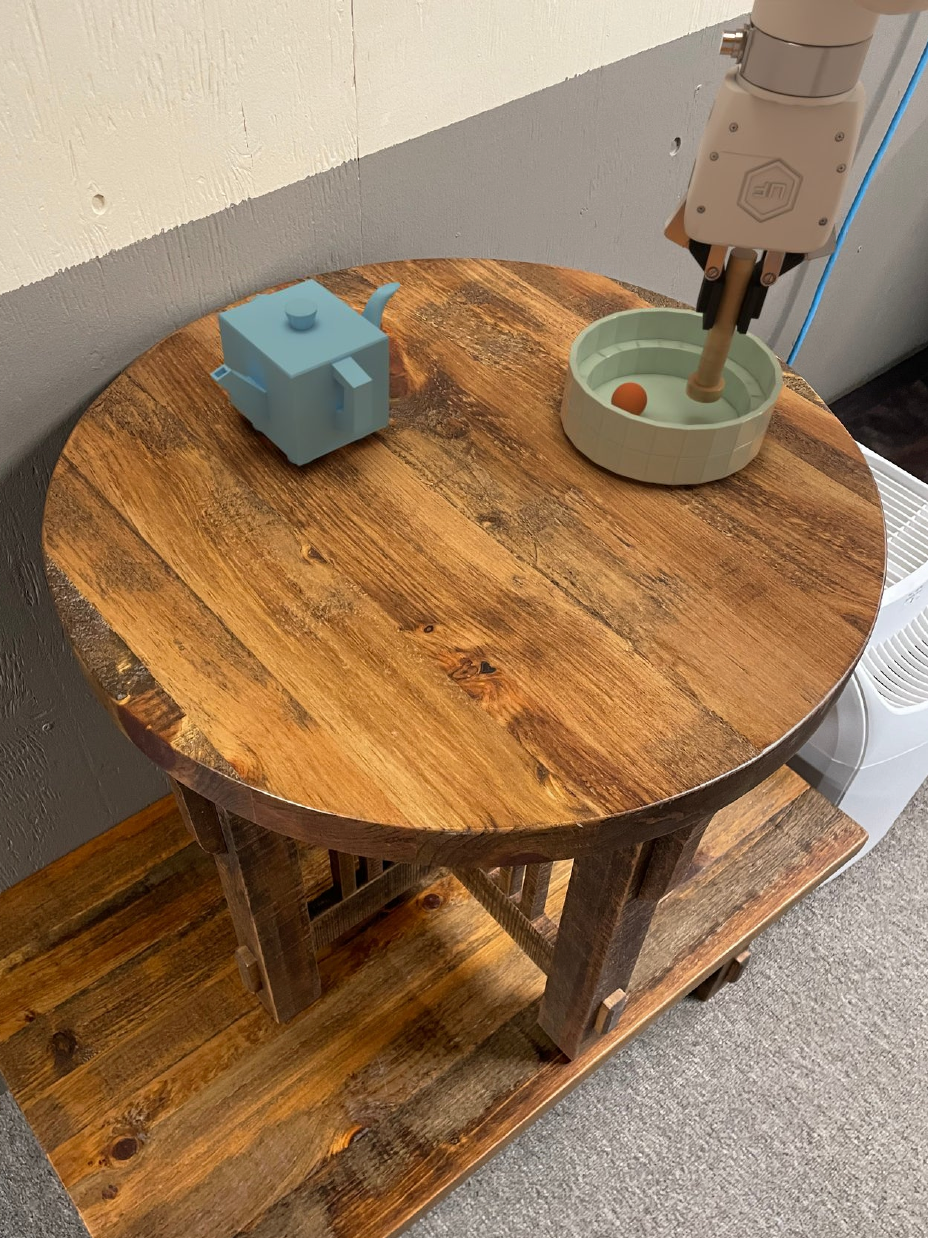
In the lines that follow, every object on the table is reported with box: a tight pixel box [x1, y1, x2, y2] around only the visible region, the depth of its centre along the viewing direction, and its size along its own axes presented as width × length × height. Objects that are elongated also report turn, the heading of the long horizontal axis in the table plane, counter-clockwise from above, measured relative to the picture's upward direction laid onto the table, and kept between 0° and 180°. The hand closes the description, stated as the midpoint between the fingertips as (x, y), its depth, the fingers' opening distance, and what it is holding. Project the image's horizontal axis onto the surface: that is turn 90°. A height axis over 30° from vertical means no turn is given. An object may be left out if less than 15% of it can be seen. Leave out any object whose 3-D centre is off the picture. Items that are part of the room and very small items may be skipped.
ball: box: [611, 382, 647, 416], centre depth 85 cm, size 3×3×3 cm
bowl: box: [559, 306, 784, 486], centre depth 84 cm, size 17×17×6 cm
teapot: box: [209, 278, 401, 467], centre depth 82 cm, size 16×18×11 cm
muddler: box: [685, 247, 759, 403], centre depth 79 cm, size 3×3×12 cm
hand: (724, 320), depth 78 cm, fingers closed on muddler, 2 cm apart
